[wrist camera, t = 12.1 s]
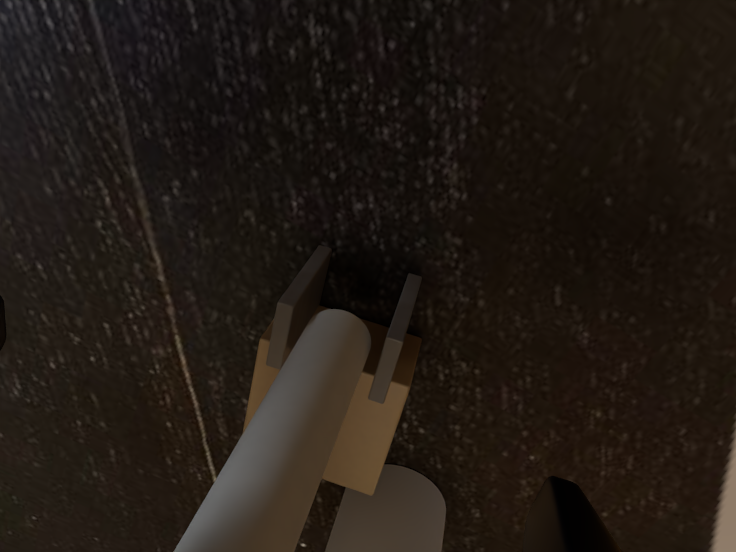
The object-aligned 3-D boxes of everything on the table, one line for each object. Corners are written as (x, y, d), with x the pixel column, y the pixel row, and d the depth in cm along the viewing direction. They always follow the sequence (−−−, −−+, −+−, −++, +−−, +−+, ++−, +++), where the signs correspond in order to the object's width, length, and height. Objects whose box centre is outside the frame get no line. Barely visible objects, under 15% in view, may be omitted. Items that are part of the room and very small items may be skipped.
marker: (229, 719, 8) (212, 789, 9) (380, 319, 17) (364, 376, 18) (83, 664, 8) (83, 738, 9) (311, 297, 17) (298, 354, 18)
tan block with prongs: (441, 282, 20) (426, 349, 16) (388, 440, 23) (365, 524, 20) (301, 238, 20) (255, 294, 17) (268, 399, 24) (224, 475, 20)
